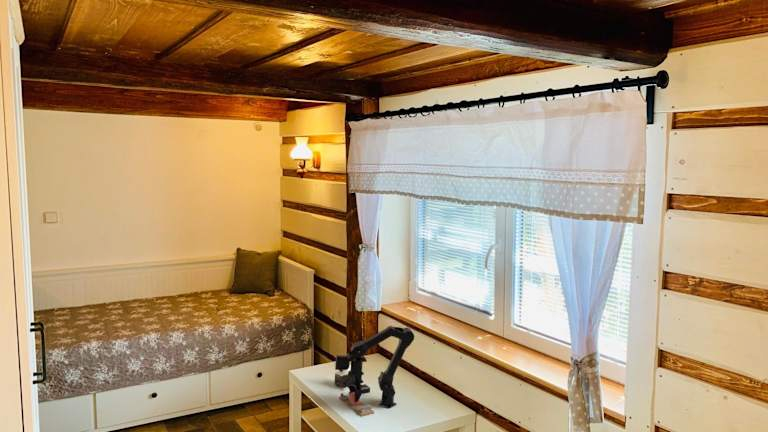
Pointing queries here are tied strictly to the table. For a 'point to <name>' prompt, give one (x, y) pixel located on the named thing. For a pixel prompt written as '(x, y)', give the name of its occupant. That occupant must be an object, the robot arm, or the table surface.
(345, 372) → the cream yellow box
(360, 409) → the plank
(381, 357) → the table surface
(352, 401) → the tab
